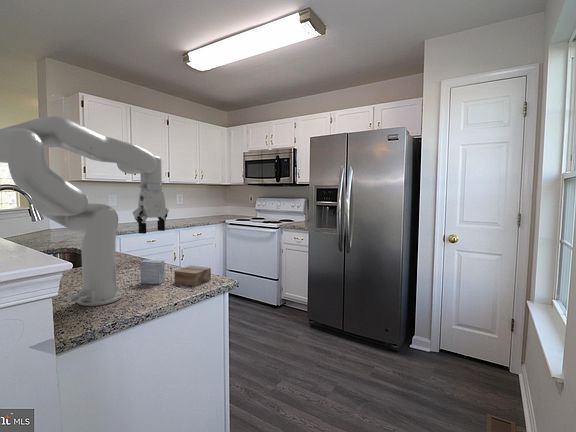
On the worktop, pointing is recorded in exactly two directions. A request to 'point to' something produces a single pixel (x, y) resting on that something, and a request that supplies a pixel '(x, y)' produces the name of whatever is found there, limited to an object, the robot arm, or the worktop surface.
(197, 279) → the walnut block
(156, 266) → the medicine box
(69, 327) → the worktop surface
